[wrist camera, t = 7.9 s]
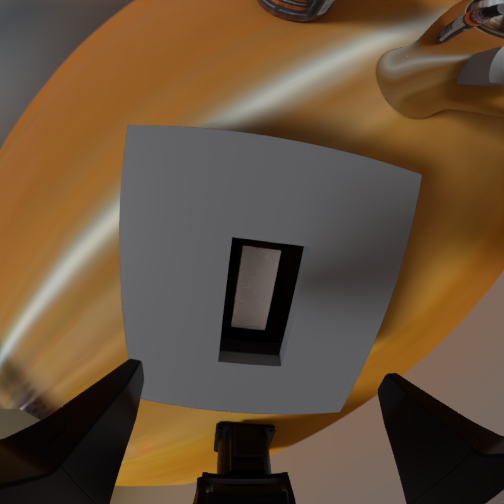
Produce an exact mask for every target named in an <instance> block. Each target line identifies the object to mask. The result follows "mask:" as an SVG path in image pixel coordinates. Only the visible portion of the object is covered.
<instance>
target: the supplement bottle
mask: <svg viewBox="0 0 504 504" xmlns="http://www.w3.org/2000/svg"><path fill="white" fill-rule="evenodd" d="M257 2H258V3H259V4H260V5H261V7H263V8H264V9H265V10H266V11H267V12H269V13H271V14H272V15H274V16H276V17H279V18H282V19H285V20H290V21H296V22H307V21H312V20H315V19H318V18H321V17H322V16H324V15H325V14H326V13H327V12H328V11H329V10H330V9H331V7H332V6H333V5H334V3H335V2H336V0H257Z"/></svg>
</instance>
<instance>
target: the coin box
mask: <svg viewBox="0 0 504 504" xmlns="http://www.w3.org/2000/svg"><path fill="white" fill-rule="evenodd" d="M421 179H422V175H421V174H418V173H415V172H412V171H410V170H407V169H403V168H400V167H397V166H394V165H391V164H388V163H384V162H381V161H378V160H374V159H371V158H367V157H363V156H360V155H356V154H352V153H348V152H344V151H340V150H336V149H332V148H327V147H323V146H318V145H314V144H309V143H304V142H299V141H294V140H288V139H283V138H277V137H271V136H264V135H258V134H251V133H243V132H235V131H227V130H217V129H207V128H195V127H179V126H157V125H127V132H126V140H125V148H124V157H123V167H122V180H121V195H120V221H119V257H120V283H121V299H122V311H123V321H124V331H125V339H126V347H127V354H128V359H131V358H132V359H137V360H140V361H142V364H143V372H144V384H143V389H142V393H141V398H140V399H144V400H149V401H154V402H159V403H164V404H170V405H176V406H182V407H189V408H196V409H204V410H213V411H223V412H235V413H251V414H319V413H335V412H340V411H341V409H342V408H343V406H344V404H345V402H346V400H347V398H348V396H349V394H350V393H351V391H352V389H353V387H354V385H355V383H356V381H357V379H358V377H359V374H360V372H361V370H362V368H363V366H364V364H365V362H366V359H367V357H368V355H369V353H370V350H371V348H372V346H373V343H374V341H375V339H376V336H377V334H378V331H379V329H380V326H381V324H382V321H383V319H384V316H385V313H386V311H387V308H388V305H389V302H390V299H391V297H392V294H393V291H394V288H395V285H396V282H397V278H398V275H399V272H400V269H401V265H402V262H403V259H404V255H405V251H406V248H407V244H408V240H409V236H410V232H411V228H412V224H413V219H414V215H415V210H416V206H417V201H418V196H419V190H420V185H421ZM232 237H235V238H243V239H251V240H259V241H267V242H275V243H283V244H291V245H298V246H304V249H303V254H302V259H301V264H300V269H299V273H298V278H297V282H296V287H295V291H294V296H293V300H292V305H291V309H290V313H289V317H288V321H287V326H286V330H285V334H284V338H283V342H282V344H280V343H266V342H253V341H242V340H232V339H223V338H221V329H222V320H223V310H224V302H225V293H226V284H227V276H228V267H229V259H230V251H231V243H232Z"/></svg>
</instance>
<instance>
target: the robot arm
mask: <svg viewBox="0 0 504 504" xmlns="http://www.w3.org/2000/svg"><path fill="white" fill-rule="evenodd" d="M143 384H144V372H143V364H142V361H140V360H137V359H132V358H131V359H128V360H127V361H126V362H124V363H123V364H121V365H120V366H119V367H117V368H116V369H114V370H113V371H112V372H110V373H109V374H107V375H106V376H105V377H103V378H102V379H100V380H99V381H98V382H96V383H95V384H93V385H92V386H90V387H89V388H88V389H86V390H85V391H83V392H82V393H81V394H79V395H78V396H76V397H75V398H73V399H72V400H71V401H69V402H68V403H66V404H65V405H63V407H60V408H59V409H57V410H56V411H55V412H53V413H51V414H50V415H48V416H47V417H45V418H44V419H42V420H40V421H38V422H36V423H35V424H33V425H31V426H29V427H27V428H25V429H23V430H21V431H19V432H17V433H15V434H13V435H11V436H9V437H6V438H3V439H0V504H110V500H111V496H112V493H113V489H114V486H115V483H116V480H117V476H118V473H119V470H120V466H121V463H122V460H123V457H124V454H125V451H126V448H127V445H128V441H129V438H130V435H131V433H132V430H133V427H134V424H135V420H136V417H137V412H138V407H139V403H140V398H141V393H142V389H143ZM378 397H379V401H380V406H381V411H382V415H383V420H384V424H385V428H386V431H387V435H388V438H389V441H390V444H391V447H392V451H393V454H394V458H395V461H396V465H397V468H398V472H399V476H400V480H401V483H402V487H403V491H404V495H405V499H406V503H407V504H504V436H501V435H498V434H496V433H494V432H492V431H490V430H488V429H486V428H484V427H482V426H480V425H478V424H476V423H474V422H473V421H471V420H469V419H467V418H466V417H464V416H463V415H461V414H458V412H456V411H454V410H453V409H451V408H450V407H448V406H447V405H445V404H443V403H442V402H440V401H439V400H437V399H435V398H434V397H432V396H431V395H429V394H428V393H426V392H425V391H423V390H421V389H420V388H418V387H417V386H415V385H414V384H412V383H410V382H409V381H407V380H406V379H404V378H403V377H401V376H400V375H398V374H397V373H390V374H387V375H386V376H385V377H384V379H383V381H382V383H381V384H380V386H379V388H378ZM274 433H275V426H273V425H245V424H230V423H217V424H216V433H215V442H214V451H215V452H218V461H217V474H213V473H208V472H203V473H202V477H199V478H197V489H196V494H195V498H194V502H193V504H296V503H295V498H294V494H293V490H292V487H291V483H290V480H289V476H288V473H287V472H282V473H276V474H271V465H270V456H269V446H270V443H271V441H272V438H273V436H274Z"/></svg>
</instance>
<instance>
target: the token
mask: <svg viewBox="0 0 504 504" xmlns="http://www.w3.org/2000/svg"><path fill="white" fill-rule="evenodd" d="M280 254H281V249H280V247H279V245H278V243H275V242H267V241H259V240H251V239H243V238H240V244H239V251H238V258H237V265H236V272H235V278H234V285H233V297H232V319H231V327H238V328H247V329H257V330H265V327H266V322H267V317H268V313H269V308H270V303H271V299H272V294H273V289H274V284H275V279H276V274H277V269H278V264H279V259H280Z"/></svg>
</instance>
